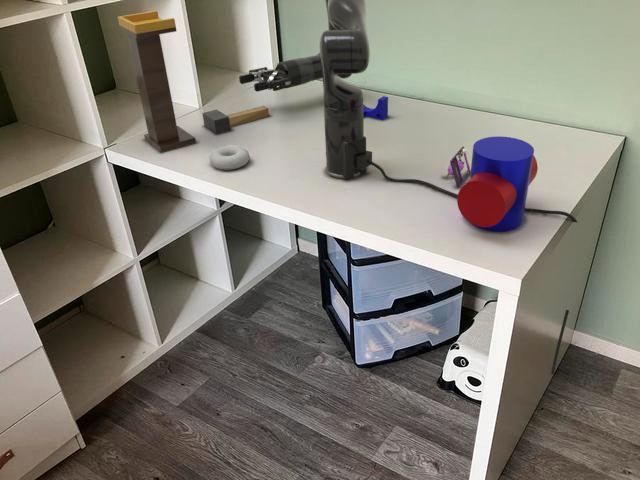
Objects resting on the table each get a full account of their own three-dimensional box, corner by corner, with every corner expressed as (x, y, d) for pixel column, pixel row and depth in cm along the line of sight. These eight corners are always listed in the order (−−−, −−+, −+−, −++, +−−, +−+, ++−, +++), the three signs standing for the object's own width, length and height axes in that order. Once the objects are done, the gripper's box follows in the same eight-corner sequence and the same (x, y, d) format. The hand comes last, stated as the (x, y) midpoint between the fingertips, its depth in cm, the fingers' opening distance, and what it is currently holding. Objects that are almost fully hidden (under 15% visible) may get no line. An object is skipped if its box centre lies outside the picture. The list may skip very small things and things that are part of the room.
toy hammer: (273, 118, 182) (272, 105, 180) (216, 134, 173) (214, 120, 171) (260, 111, 187) (259, 98, 185) (204, 126, 178) (202, 112, 176)
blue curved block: (345, 113, 185) (344, 94, 182) (353, 109, 188) (353, 89, 185) (379, 121, 180) (379, 101, 176) (387, 117, 183) (388, 97, 179)
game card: (454, 160, 142) (466, 145, 149) (433, 163, 145) (446, 149, 151) (461, 187, 145) (473, 171, 151) (441, 189, 148) (453, 174, 154)
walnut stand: (196, 142, 168) (176, 27, 151) (161, 152, 163) (136, 34, 146) (178, 130, 176) (157, 18, 158) (144, 139, 171) (119, 25, 153)
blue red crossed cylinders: (485, 192, 143) (493, 126, 134) (536, 204, 138) (547, 136, 129) (449, 231, 129) (455, 160, 120) (504, 246, 124) (515, 174, 115)
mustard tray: (176, 27, 151) (174, 18, 150) (136, 34, 146) (134, 25, 145) (157, 18, 158) (156, 10, 157) (119, 25, 153) (117, 16, 152)
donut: (204, 170, 154) (242, 173, 153) (201, 157, 153) (240, 160, 151) (219, 154, 163) (255, 156, 161) (217, 141, 161) (254, 143, 159)
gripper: (281, 54, 187) (233, 64, 179) (308, 65, 178) (258, 76, 169) (283, 79, 191) (236, 90, 183) (309, 91, 182) (261, 103, 174)
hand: (247, 84), depth 176 cm, fingers open, 8 cm apart
